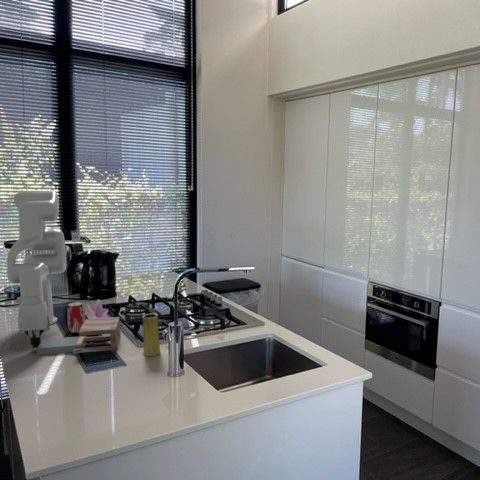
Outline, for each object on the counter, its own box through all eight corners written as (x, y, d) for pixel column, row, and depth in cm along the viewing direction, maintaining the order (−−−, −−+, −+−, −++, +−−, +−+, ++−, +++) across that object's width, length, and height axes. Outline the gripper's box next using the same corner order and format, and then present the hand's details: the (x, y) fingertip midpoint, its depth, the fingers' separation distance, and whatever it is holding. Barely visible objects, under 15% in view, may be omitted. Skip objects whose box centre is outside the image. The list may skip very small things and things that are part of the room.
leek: (163, 304, 240) (176, 287, 269) (176, 306, 239) (187, 288, 269) (164, 294, 239) (177, 277, 268) (177, 295, 238) (188, 278, 267)
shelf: (80, 340, 182) (78, 319, 181) (120, 337, 184) (119, 316, 183) (72, 354, 166) (70, 332, 165) (116, 351, 169) (115, 329, 168)
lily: (83, 331, 196) (92, 313, 194) (77, 314, 205) (85, 297, 202) (109, 333, 204) (117, 316, 201) (102, 317, 212) (110, 301, 210)
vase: (163, 351, 168) (161, 314, 166) (155, 357, 162) (153, 318, 160) (148, 349, 170) (147, 312, 168) (140, 355, 164) (138, 317, 162)
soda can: (80, 334, 189) (78, 306, 187) (65, 333, 190) (63, 305, 189) (89, 328, 196) (87, 301, 194) (74, 328, 197) (72, 301, 196)
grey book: (44, 345, 177) (43, 338, 176) (86, 342, 179) (86, 335, 179) (37, 354, 167) (36, 347, 166) (82, 351, 169) (82, 344, 169)
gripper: (7, 303, 164) (11, 351, 166) (50, 300, 166) (54, 348, 169) (14, 298, 171) (18, 344, 174) (55, 295, 174) (59, 341, 176)
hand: (36, 346), depth 171 cm, fingers closed
